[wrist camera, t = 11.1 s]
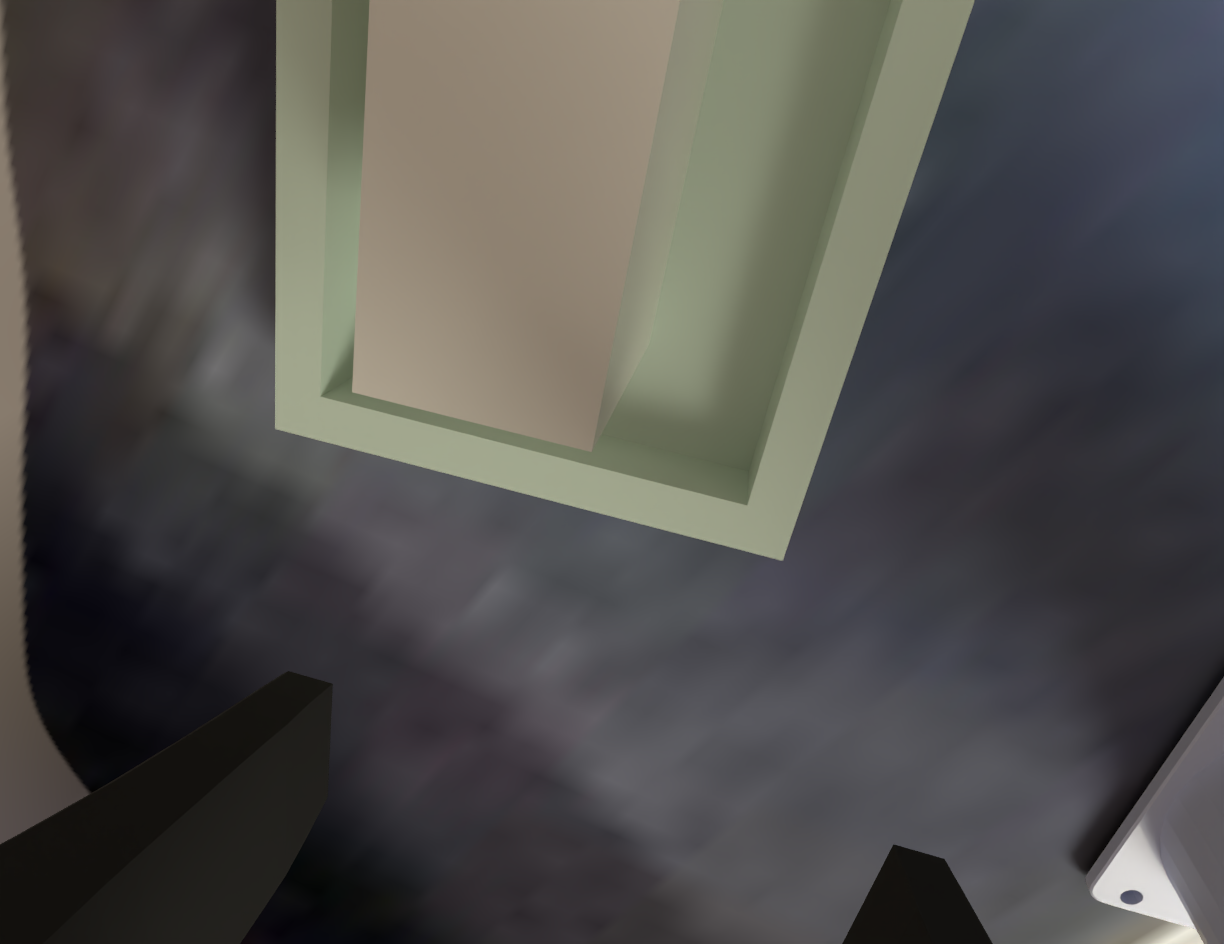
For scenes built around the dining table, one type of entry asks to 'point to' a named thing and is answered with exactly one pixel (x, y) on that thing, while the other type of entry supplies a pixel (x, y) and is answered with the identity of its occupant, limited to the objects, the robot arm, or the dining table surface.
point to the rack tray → (694, 275)
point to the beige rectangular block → (521, 202)
